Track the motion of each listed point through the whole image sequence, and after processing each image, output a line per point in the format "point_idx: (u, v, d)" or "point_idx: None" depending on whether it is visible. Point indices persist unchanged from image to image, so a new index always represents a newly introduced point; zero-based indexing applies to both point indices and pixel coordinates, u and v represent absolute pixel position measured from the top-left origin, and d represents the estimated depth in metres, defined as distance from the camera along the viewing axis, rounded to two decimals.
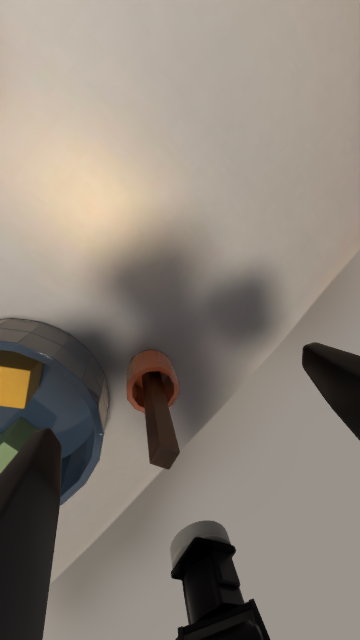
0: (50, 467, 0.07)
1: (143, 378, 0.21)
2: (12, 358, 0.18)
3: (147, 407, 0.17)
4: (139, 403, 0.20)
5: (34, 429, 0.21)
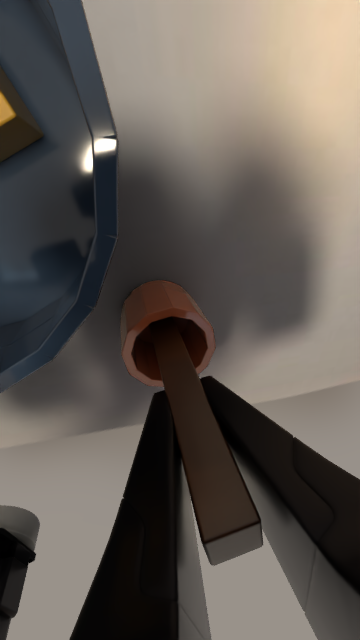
0: None
1: None
2: None
3: (174, 377, 0.08)
4: (131, 351, 0.11)
5: None
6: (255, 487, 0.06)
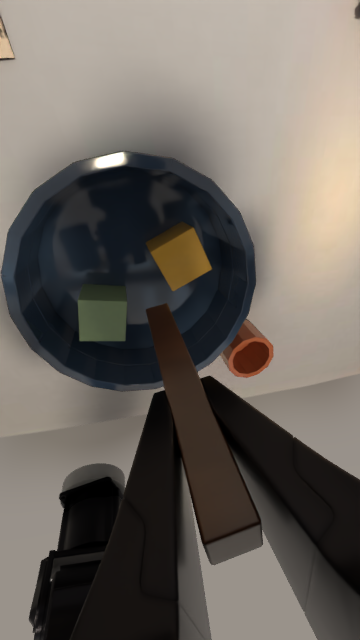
0: None
1: (152, 316, 0.12)
2: None
3: (174, 377, 0.08)
4: (231, 358, 0.21)
5: None
6: (255, 487, 0.06)
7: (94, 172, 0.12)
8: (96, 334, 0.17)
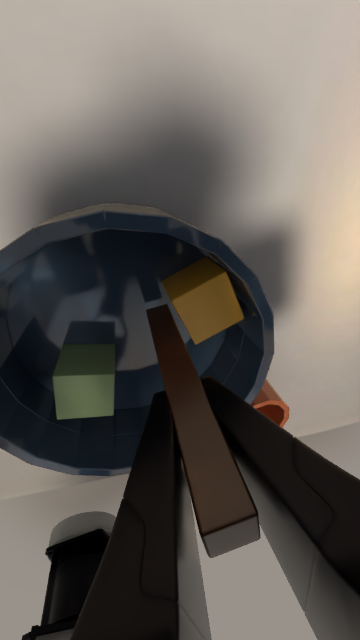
0: None
1: (152, 316, 0.12)
2: None
3: (174, 375, 0.09)
4: None
5: None
6: (255, 487, 0.06)
7: (63, 238, 0.08)
8: (77, 411, 0.14)
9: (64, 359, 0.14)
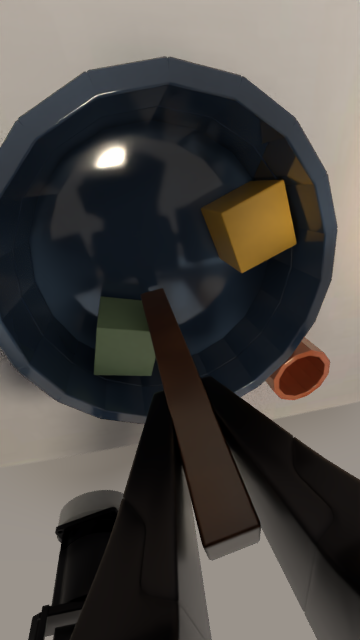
0: None
1: (147, 302, 0.12)
2: None
3: (172, 370, 0.08)
4: None
5: None
6: (255, 487, 0.06)
7: (118, 92, 0.07)
8: (116, 368, 0.13)
9: (105, 311, 0.13)
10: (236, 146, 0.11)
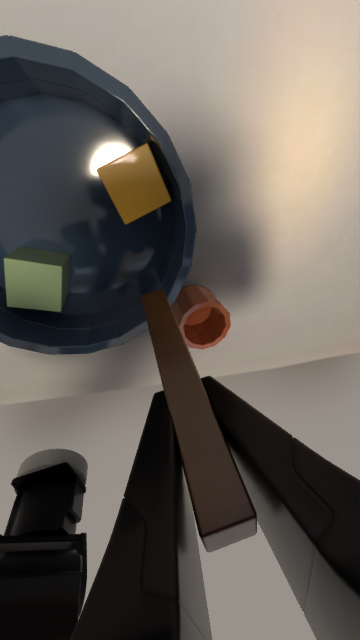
0: None
1: (147, 302, 0.12)
2: None
3: (171, 368, 0.08)
4: (182, 326, 0.19)
5: (68, 276, 0.18)
6: (254, 487, 0.06)
7: None
8: (26, 300, 0.15)
9: (18, 252, 0.15)
10: (116, 116, 0.14)
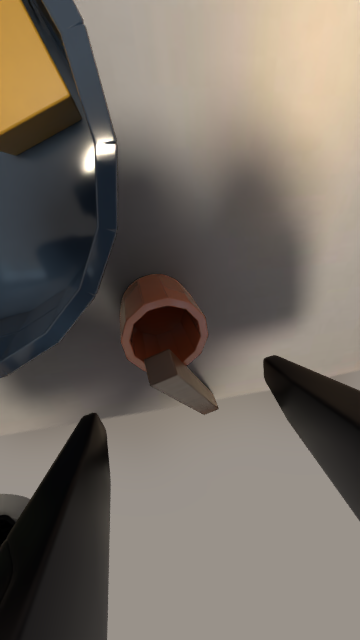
0: (101, 450, 0.08)
1: (164, 389, 0.11)
2: None
3: (194, 403, 0.14)
4: (129, 339, 0.12)
5: None
6: (347, 453, 0.06)
7: None
8: None
9: None
10: None
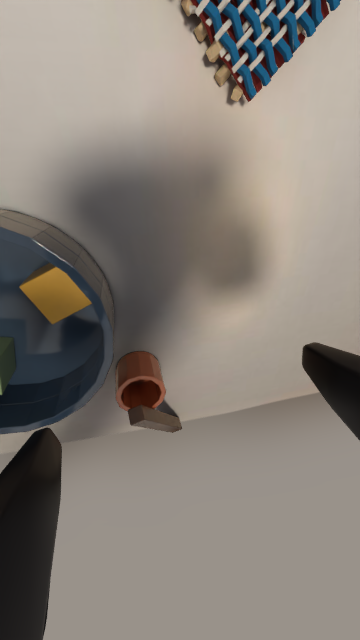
0: (50, 467, 0.07)
1: (139, 425, 0.20)
2: None
3: (161, 428, 0.24)
4: (120, 395, 0.21)
5: (13, 356, 0.20)
6: None
7: None
8: None
9: None
10: None
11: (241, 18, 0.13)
